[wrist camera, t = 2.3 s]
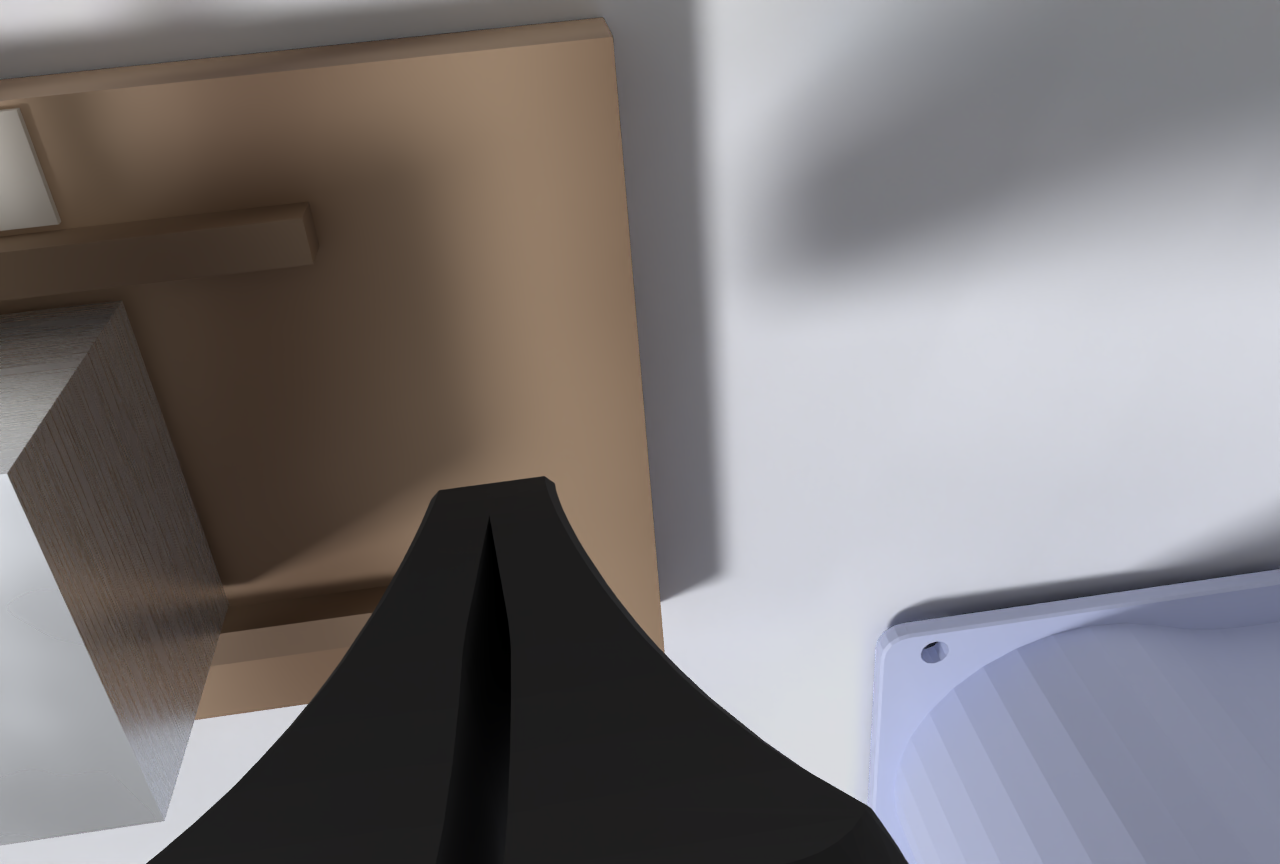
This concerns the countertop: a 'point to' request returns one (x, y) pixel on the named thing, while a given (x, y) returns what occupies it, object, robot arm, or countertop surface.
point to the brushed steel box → (94, 581)
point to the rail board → (352, 304)
